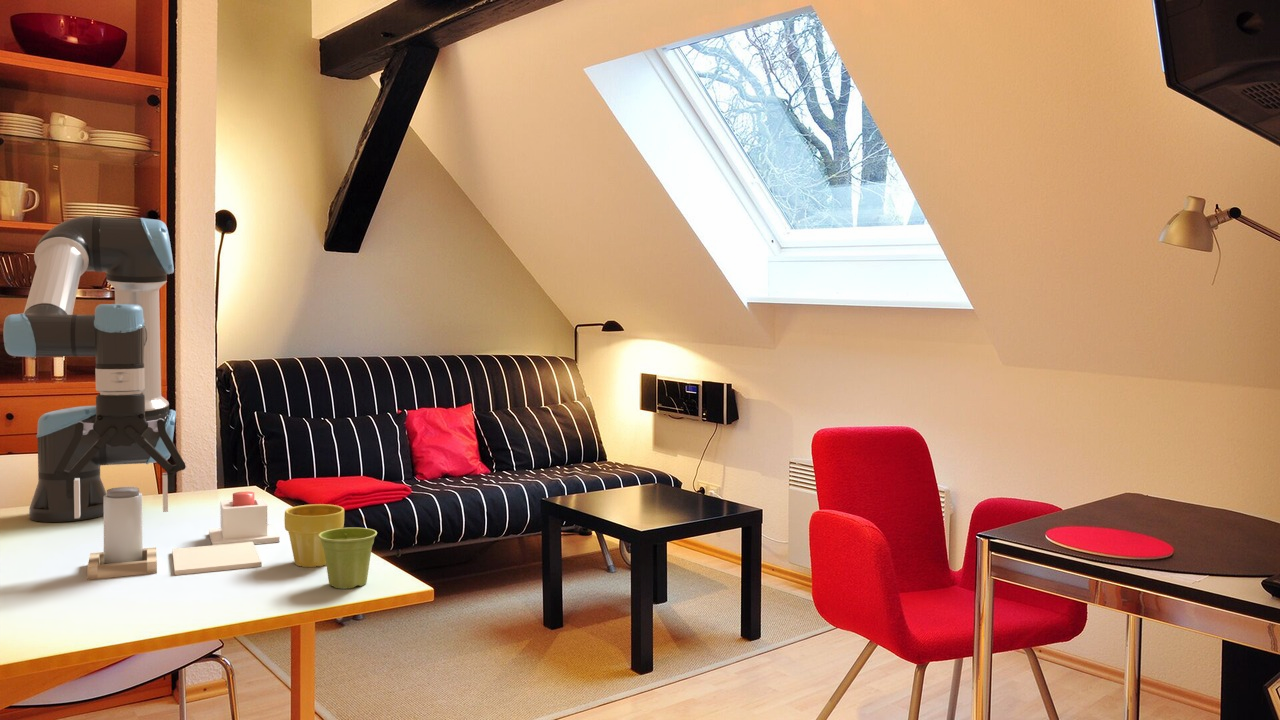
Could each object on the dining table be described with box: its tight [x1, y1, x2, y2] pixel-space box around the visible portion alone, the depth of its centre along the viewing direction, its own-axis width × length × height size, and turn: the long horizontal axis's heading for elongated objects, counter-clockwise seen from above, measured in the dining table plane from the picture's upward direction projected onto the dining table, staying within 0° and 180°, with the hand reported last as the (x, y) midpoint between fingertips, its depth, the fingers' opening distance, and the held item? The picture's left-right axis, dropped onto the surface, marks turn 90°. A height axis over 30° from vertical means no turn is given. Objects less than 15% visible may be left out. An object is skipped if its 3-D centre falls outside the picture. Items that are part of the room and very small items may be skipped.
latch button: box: [232, 491, 255, 507], centre depth 194 cm, size 4×4×5 cm
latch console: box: [208, 497, 280, 545], centre depth 194 cm, size 12×12×7 cm
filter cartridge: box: [103, 486, 143, 564], centre depth 171 cm, size 6×6×14 cm
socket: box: [86, 547, 158, 581], centre depth 172 cm, size 10×10×2 cm
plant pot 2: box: [319, 527, 378, 589], centre depth 165 cm, size 9×9×9 cm
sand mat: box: [172, 542, 263, 576], centre depth 178 cm, size 16×14×1 cm
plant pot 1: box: [284, 503, 345, 568], centre depth 177 cm, size 10×10×10 cm
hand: (122, 513), depth 171 cm, fingers open, 13 cm apart
